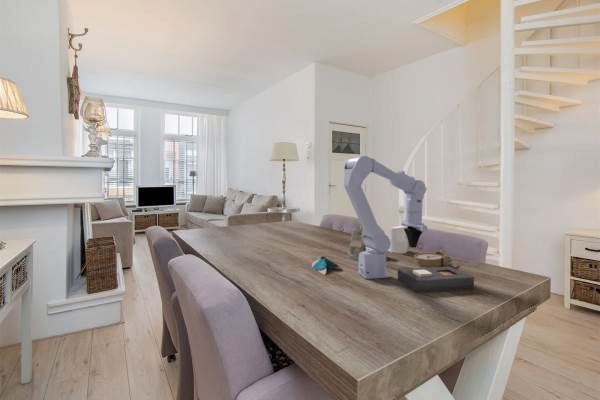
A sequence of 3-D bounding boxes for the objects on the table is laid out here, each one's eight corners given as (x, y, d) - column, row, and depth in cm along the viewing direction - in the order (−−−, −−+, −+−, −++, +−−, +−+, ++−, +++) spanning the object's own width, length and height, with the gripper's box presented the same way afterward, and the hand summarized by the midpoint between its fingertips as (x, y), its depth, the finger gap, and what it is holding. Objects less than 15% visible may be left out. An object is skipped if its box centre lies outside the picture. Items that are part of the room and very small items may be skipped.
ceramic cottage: (341, 256, 137) (344, 223, 136) (362, 252, 148) (365, 222, 147) (370, 265, 126) (374, 230, 125) (390, 260, 137) (394, 227, 136)
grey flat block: (417, 293, 93) (417, 280, 93) (397, 280, 105) (397, 269, 105) (473, 289, 97) (474, 277, 97) (448, 277, 109) (449, 266, 109)
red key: (444, 285, 99) (444, 276, 99) (436, 280, 104) (436, 272, 103) (456, 284, 100) (456, 275, 100) (447, 279, 105) (447, 271, 104)
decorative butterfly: (323, 255, 126) (340, 253, 118) (326, 270, 125) (343, 270, 117) (305, 259, 119) (322, 257, 112) (307, 275, 118) (324, 275, 111)
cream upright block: (394, 248, 155) (395, 225, 154) (410, 251, 148) (411, 227, 147) (384, 250, 149) (385, 226, 148) (400, 254, 142) (401, 229, 141)
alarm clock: (410, 253, 133) (445, 248, 131) (412, 264, 133) (447, 259, 131) (417, 260, 121) (456, 255, 120) (419, 272, 122) (458, 267, 120)
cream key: (419, 283, 98) (420, 274, 97) (412, 278, 102) (412, 270, 102) (432, 282, 98) (432, 273, 98) (424, 278, 103) (424, 269, 103)
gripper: (435, 213, 108) (434, 251, 109) (412, 209, 122) (411, 242, 123) (417, 214, 107) (416, 251, 108) (396, 209, 121) (396, 243, 122)
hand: (412, 247), depth 115 cm, fingers closed
